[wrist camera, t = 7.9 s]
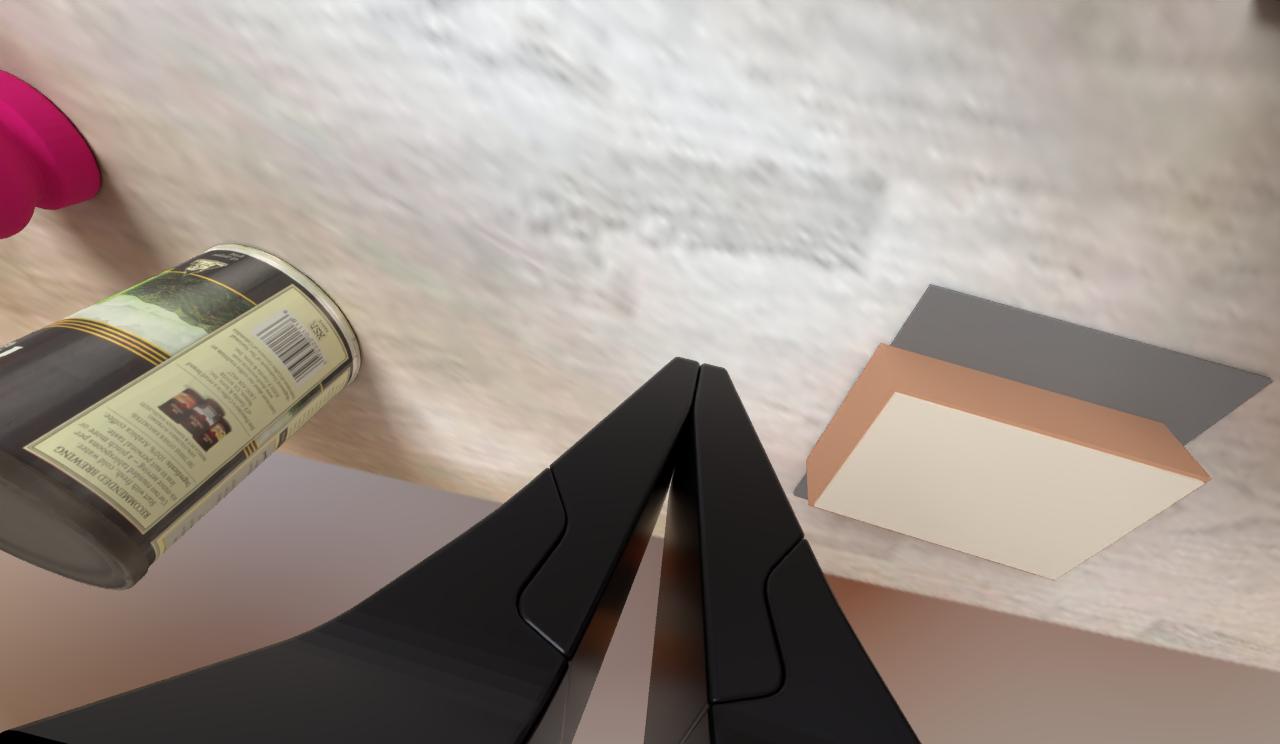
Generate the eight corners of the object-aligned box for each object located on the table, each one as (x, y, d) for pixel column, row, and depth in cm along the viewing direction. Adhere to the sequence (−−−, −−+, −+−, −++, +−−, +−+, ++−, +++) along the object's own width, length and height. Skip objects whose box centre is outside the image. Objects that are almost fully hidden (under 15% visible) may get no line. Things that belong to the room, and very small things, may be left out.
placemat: (1269, 377, 18) (1273, 381, 18) (1018, 560, 27) (1019, 563, 27) (930, 284, 19) (931, 286, 19) (793, 492, 28) (793, 495, 28)
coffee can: (181, 304, 30) (-150, 478, 20) (224, 204, 25) (-206, 370, 14) (325, 411, 34) (112, 609, 23) (391, 345, 28) (151, 564, 18)
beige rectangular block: (880, 343, 21) (1163, 423, 20) (806, 459, 26) (1029, 526, 25) (893, 389, 19) (1214, 481, 18) (808, 507, 24) (1055, 583, 23)
